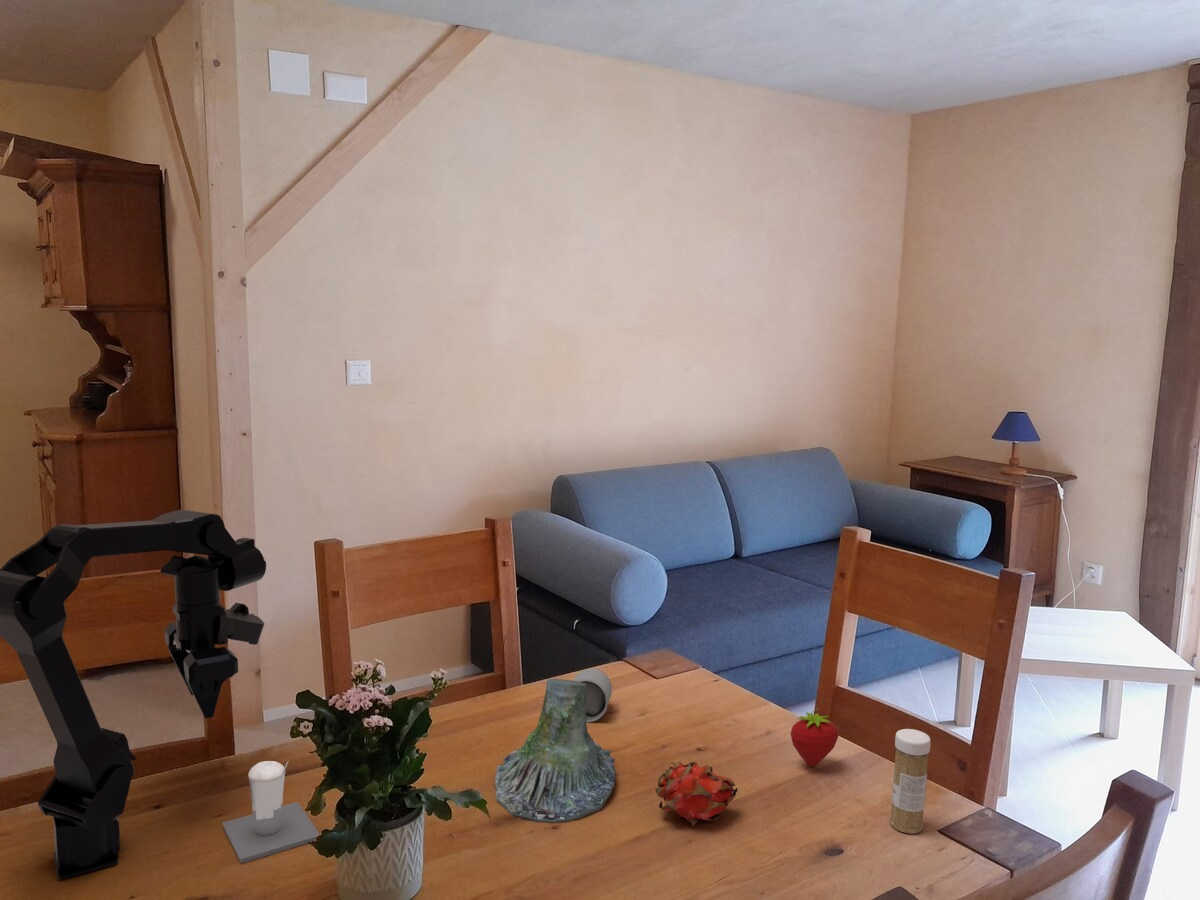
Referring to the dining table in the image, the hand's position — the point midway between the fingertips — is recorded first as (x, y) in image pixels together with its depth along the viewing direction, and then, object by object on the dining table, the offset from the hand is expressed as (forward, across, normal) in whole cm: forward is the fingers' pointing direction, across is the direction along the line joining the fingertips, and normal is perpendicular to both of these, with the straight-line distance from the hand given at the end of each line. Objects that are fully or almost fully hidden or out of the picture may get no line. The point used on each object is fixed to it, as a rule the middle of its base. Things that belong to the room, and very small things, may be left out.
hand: (201, 705), depth 129 cm
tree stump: (+13, -25, -44) cm, 52 cm away
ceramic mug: (+13, -6, -61) cm, 63 cm away
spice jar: (+13, -61, -79) cm, 101 cm away
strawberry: (+13, -42, -81) cm, 92 cm away
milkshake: (+13, -16, -5) cm, 21 cm away
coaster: (+13, -16, -5) cm, 21 cm away
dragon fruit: (+13, -43, -56) cm, 72 cm away
